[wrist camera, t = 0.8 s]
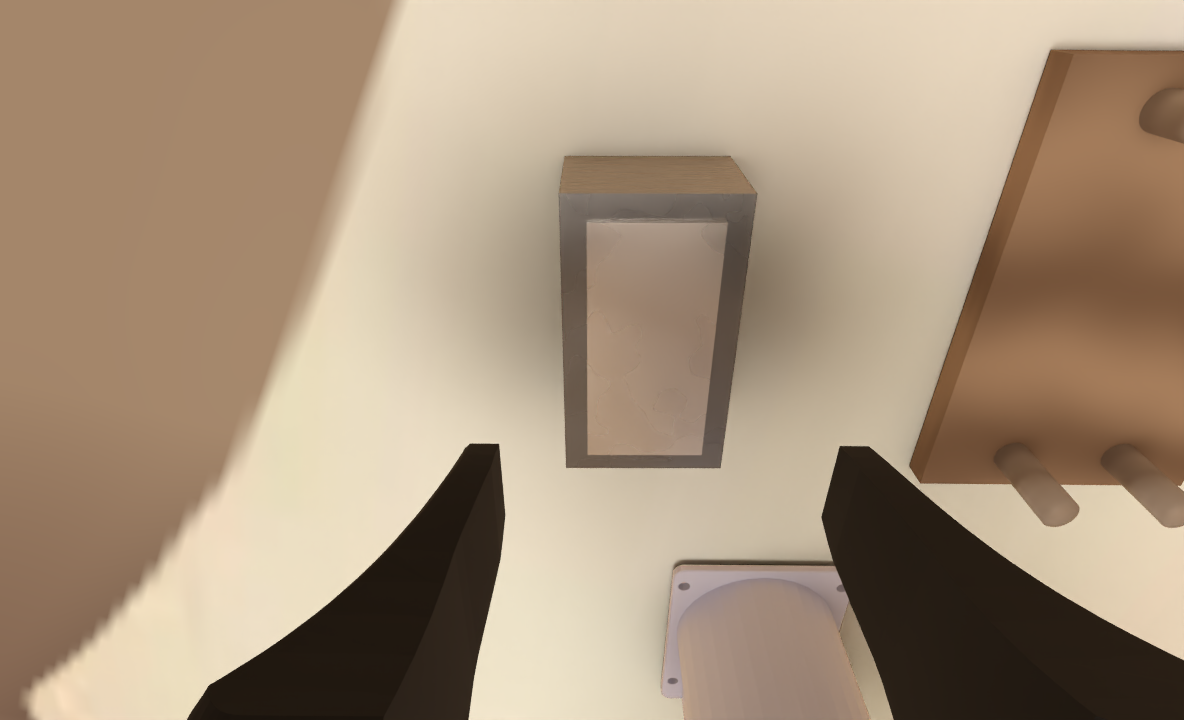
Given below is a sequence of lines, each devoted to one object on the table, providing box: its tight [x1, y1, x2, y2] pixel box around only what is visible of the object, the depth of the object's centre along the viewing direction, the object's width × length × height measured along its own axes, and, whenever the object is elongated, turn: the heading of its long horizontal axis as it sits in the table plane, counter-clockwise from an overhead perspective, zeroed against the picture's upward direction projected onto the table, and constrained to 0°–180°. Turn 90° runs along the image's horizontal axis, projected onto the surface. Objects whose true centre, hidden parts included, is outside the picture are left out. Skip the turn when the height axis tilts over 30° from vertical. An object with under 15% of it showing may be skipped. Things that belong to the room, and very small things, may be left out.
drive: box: [559, 156, 757, 468], centre depth 20 cm, size 9×5×4 cm, turn 0°
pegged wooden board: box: [910, 50, 1184, 528], centre depth 20 cm, size 15×10×4 cm, turn 0°
